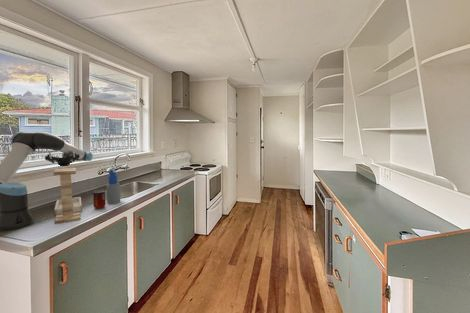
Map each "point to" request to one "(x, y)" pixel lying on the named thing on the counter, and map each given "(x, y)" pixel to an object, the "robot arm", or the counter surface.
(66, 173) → the stand
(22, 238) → the counter surface
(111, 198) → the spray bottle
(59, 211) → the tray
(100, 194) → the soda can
